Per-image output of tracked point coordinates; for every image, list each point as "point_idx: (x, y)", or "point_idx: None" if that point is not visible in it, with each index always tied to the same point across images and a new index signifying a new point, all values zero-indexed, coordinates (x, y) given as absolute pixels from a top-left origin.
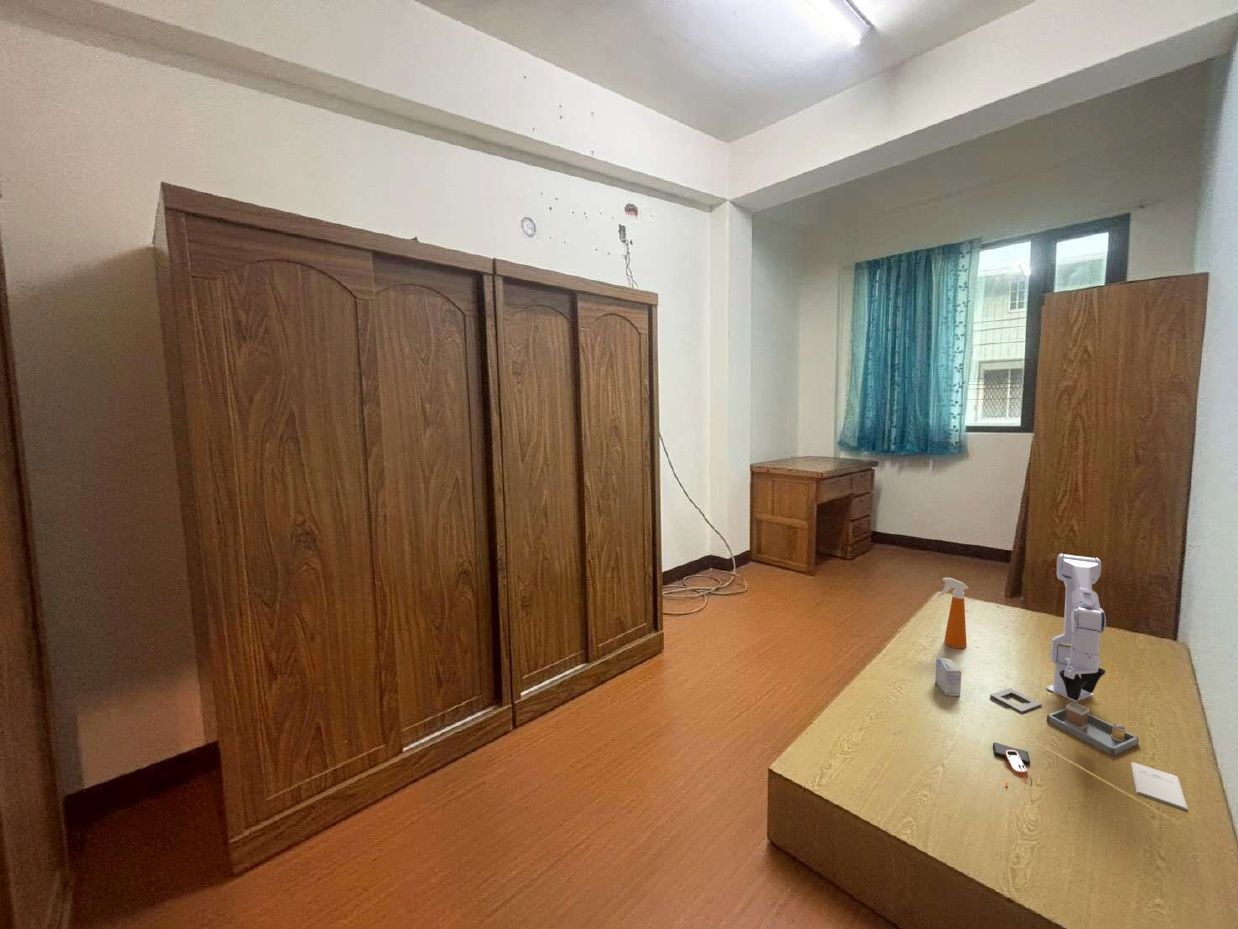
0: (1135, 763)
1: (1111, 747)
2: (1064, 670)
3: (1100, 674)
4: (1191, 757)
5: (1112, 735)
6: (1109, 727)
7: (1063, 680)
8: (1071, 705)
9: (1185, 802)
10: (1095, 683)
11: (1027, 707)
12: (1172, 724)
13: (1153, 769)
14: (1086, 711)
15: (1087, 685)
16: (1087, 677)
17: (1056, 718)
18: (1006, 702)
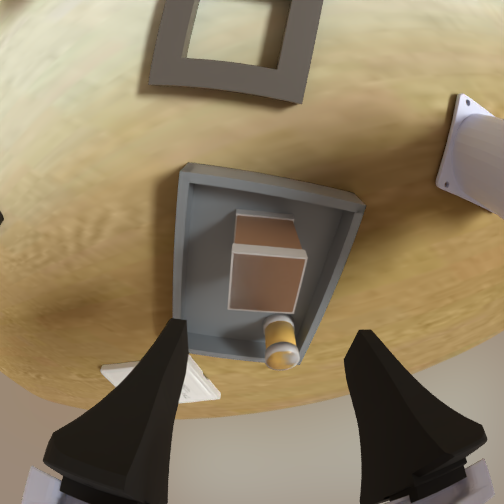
0: (187, 366)
1: None
2: (128, 494)
3: (361, 495)
4: (333, 387)
5: (269, 325)
6: (312, 311)
7: (92, 410)
8: (256, 264)
9: None
10: (359, 424)
11: (205, 79)
12: (446, 338)
13: (201, 382)
14: (265, 309)
15: (362, 377)
16: (381, 422)
17: (186, 204)
18: (167, 17)
